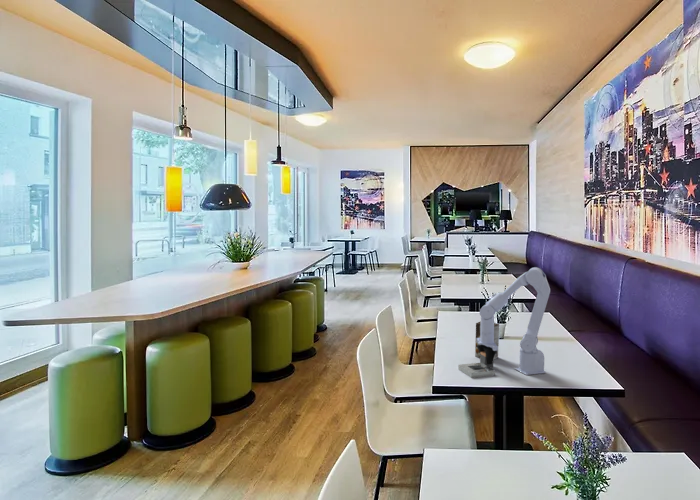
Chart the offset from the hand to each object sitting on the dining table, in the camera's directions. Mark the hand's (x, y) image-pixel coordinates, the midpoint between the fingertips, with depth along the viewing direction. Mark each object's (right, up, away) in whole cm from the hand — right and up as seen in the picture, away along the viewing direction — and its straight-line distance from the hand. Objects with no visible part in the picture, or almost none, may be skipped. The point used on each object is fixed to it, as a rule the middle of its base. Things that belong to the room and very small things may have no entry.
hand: (486, 362), depth 211 cm
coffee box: (+4, -1, +13) cm, 14 cm away
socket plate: (-7, -2, -8) cm, 11 cm away
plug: (0, -2, 0) cm, 2 cm away
